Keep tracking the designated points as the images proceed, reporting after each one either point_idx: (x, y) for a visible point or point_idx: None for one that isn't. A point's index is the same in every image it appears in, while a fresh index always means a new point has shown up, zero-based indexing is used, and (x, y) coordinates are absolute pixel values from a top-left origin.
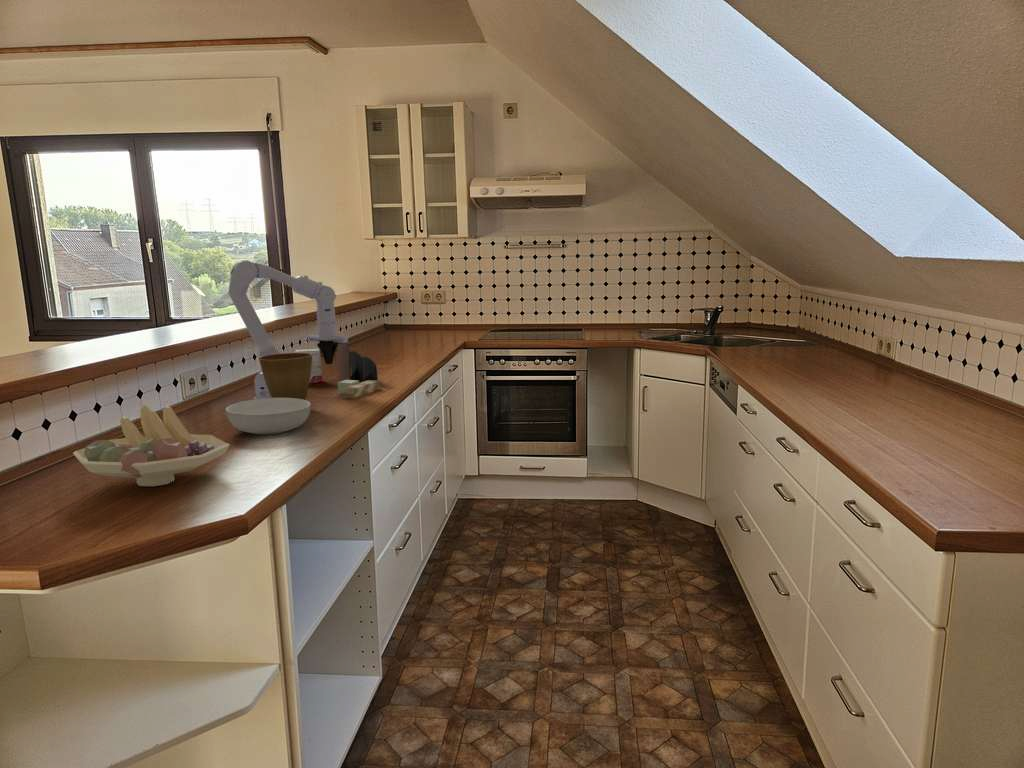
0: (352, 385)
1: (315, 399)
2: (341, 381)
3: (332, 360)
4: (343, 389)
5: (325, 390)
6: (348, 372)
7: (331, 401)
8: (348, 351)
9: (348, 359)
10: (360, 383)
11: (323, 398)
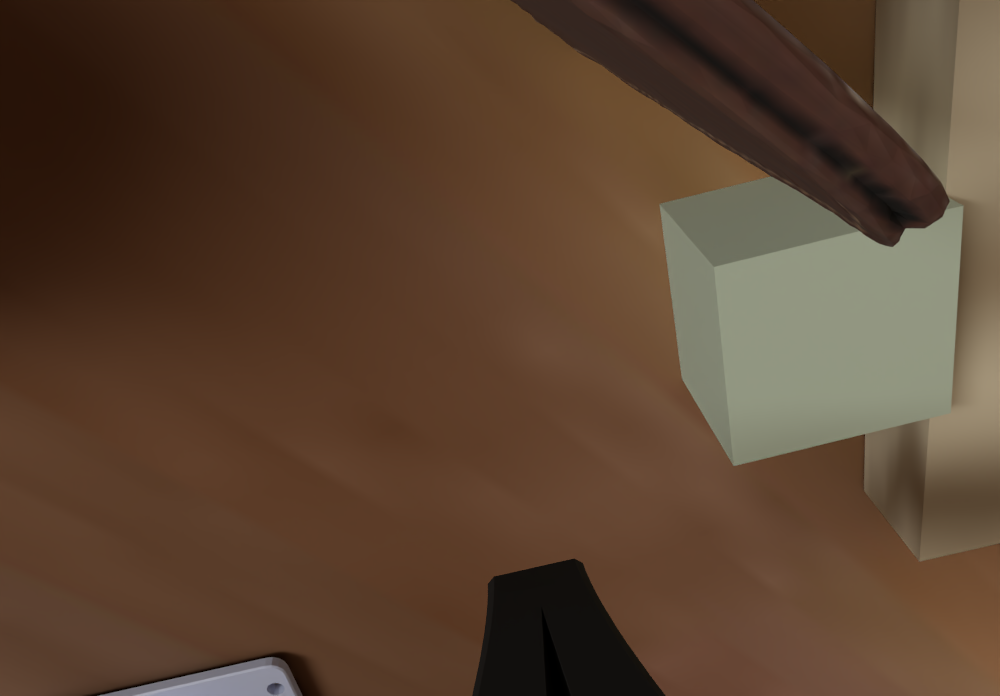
0: None
1: (648, 636)
2: (739, 392)
3: (598, 608)
4: (944, 550)
5: (356, 312)
6: (586, 46)
7: (852, 614)
8: (891, 238)
9: (730, 140)
10: (985, 215)
11: (689, 580)
